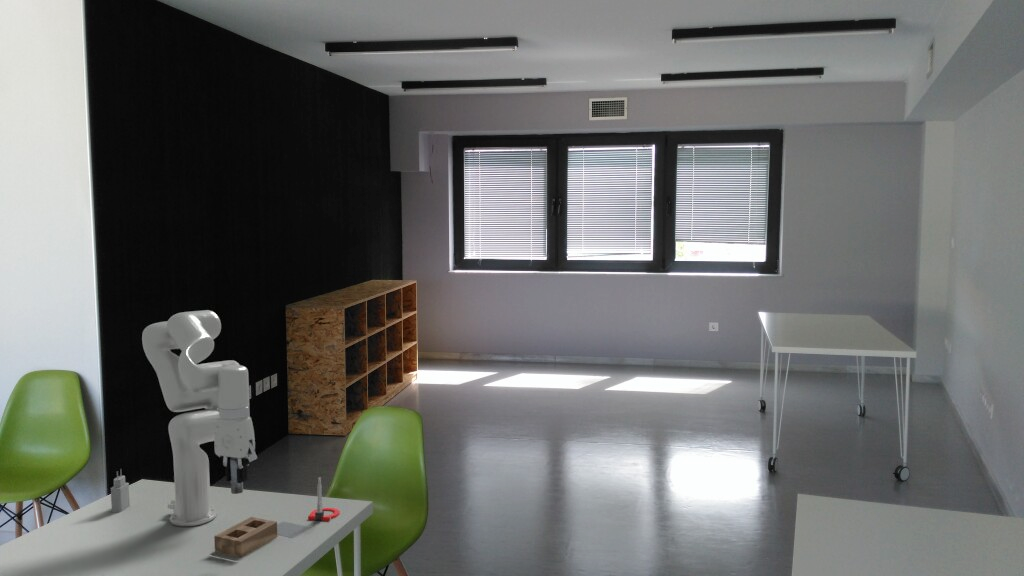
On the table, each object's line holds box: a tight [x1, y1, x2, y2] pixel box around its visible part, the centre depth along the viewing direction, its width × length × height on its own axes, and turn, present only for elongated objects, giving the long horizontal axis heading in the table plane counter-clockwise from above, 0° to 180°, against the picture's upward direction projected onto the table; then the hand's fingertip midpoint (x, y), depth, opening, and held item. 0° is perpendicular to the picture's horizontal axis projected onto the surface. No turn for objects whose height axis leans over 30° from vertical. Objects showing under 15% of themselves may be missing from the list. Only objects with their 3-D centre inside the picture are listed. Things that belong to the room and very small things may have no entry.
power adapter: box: [110, 468, 131, 513], centre depth 236 cm, size 3×5×12 cm, turn 176°
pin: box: [230, 457, 244, 495], centre depth 207 cm, size 4×4×11 cm
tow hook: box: [307, 477, 340, 522], centre depth 231 cm, size 8×13×9 cm
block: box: [214, 516, 278, 558], centre depth 211 cm, size 9×14×4 cm, turn 157°
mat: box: [277, 521, 312, 539], centre depth 221 cm, size 10×8×1 cm
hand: (236, 480), depth 207 cm, fingers closed on pin, 3 cm apart
